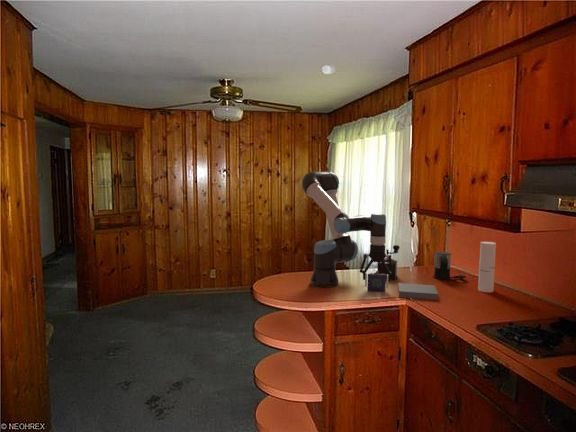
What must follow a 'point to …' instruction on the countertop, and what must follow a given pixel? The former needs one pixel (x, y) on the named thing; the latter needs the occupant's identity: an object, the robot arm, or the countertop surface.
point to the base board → (417, 291)
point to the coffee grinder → (381, 268)
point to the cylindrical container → (487, 266)
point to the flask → (376, 282)
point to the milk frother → (443, 266)
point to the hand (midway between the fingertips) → (376, 286)
